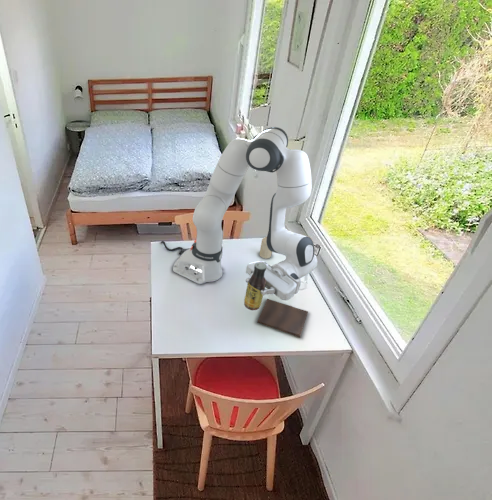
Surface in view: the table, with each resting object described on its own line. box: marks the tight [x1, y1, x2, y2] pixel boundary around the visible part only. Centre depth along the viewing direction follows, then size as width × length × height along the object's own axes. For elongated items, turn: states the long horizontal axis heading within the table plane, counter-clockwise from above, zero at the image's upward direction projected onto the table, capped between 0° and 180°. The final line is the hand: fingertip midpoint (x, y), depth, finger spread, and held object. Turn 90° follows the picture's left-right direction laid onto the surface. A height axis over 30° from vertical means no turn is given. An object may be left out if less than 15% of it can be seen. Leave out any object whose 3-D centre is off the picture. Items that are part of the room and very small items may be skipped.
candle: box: [259, 236, 273, 259], centre depth 180 cm, size 6×6×10 cm
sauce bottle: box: [243, 262, 266, 311], centre depth 140 cm, size 6×6×20 cm
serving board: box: [256, 298, 309, 338], centre depth 149 cm, size 16×14×1 cm
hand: (254, 287), depth 139 cm, fingers closed on sauce bottle, 6 cm apart
